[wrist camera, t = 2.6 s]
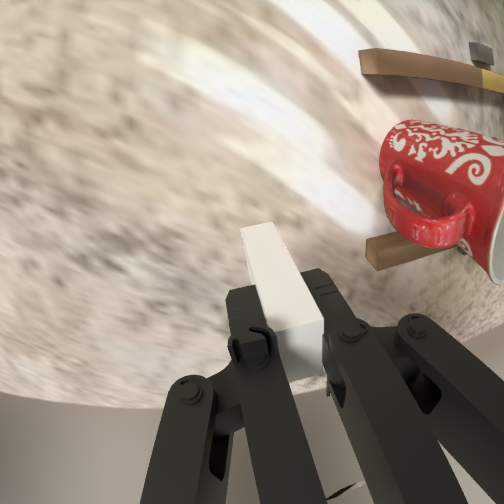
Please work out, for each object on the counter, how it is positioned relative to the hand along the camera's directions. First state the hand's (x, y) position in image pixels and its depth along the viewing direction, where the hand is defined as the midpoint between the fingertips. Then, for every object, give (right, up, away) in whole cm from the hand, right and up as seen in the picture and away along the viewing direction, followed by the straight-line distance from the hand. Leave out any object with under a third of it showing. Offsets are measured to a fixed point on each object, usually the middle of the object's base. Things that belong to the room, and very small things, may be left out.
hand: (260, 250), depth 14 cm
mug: (+12, +8, +9) cm, 17 cm away
